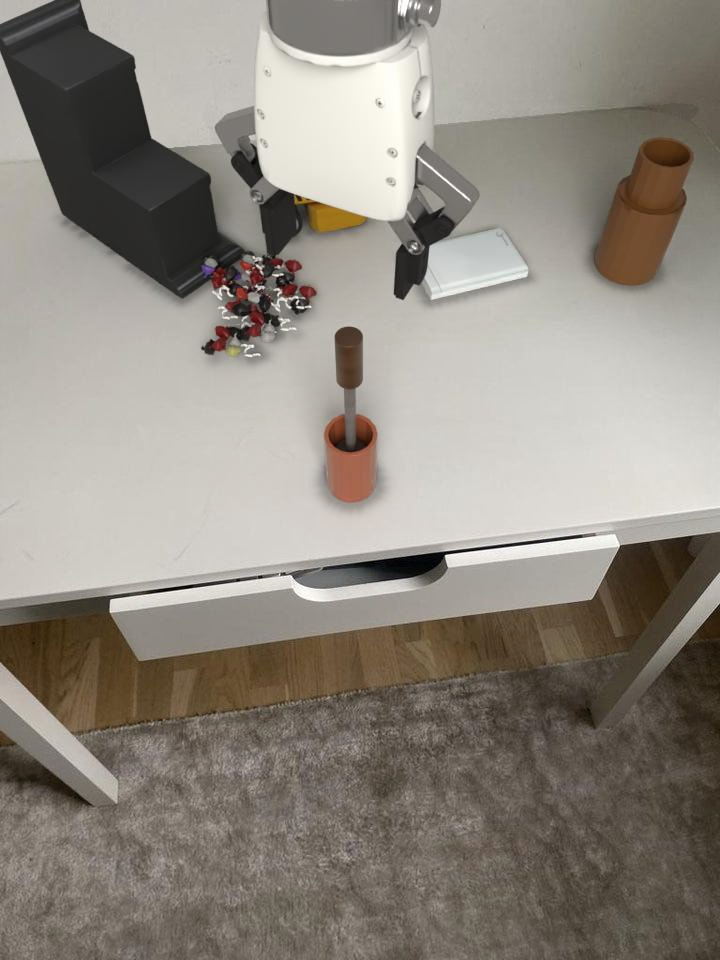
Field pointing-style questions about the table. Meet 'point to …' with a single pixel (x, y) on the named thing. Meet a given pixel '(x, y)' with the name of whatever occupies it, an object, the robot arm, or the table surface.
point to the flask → (644, 212)
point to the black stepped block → (110, 149)
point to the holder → (351, 460)
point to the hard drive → (472, 263)
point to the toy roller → (325, 216)
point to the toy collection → (253, 299)
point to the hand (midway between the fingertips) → (343, 264)
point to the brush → (349, 381)
